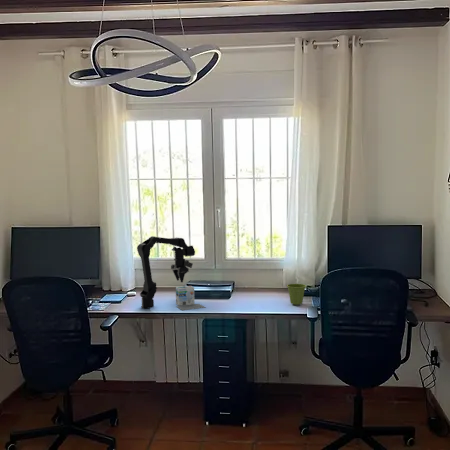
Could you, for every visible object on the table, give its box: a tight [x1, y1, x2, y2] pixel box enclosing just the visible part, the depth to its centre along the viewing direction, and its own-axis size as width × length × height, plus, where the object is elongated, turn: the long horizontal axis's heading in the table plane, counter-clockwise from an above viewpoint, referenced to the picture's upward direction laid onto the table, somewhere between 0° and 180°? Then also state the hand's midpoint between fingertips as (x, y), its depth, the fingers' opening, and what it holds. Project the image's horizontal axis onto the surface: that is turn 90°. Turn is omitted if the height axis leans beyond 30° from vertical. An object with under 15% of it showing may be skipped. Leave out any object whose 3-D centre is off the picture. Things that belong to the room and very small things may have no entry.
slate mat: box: [175, 303, 206, 311], centre depth 317 cm, size 15×11×1 cm
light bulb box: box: [175, 285, 195, 306], centre depth 325 cm, size 11×7×11 cm, turn 112°
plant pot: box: [286, 283, 307, 305], centre depth 320 cm, size 12×12×11 cm
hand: (179, 281), depth 334 cm, fingers open, 8 cm apart
